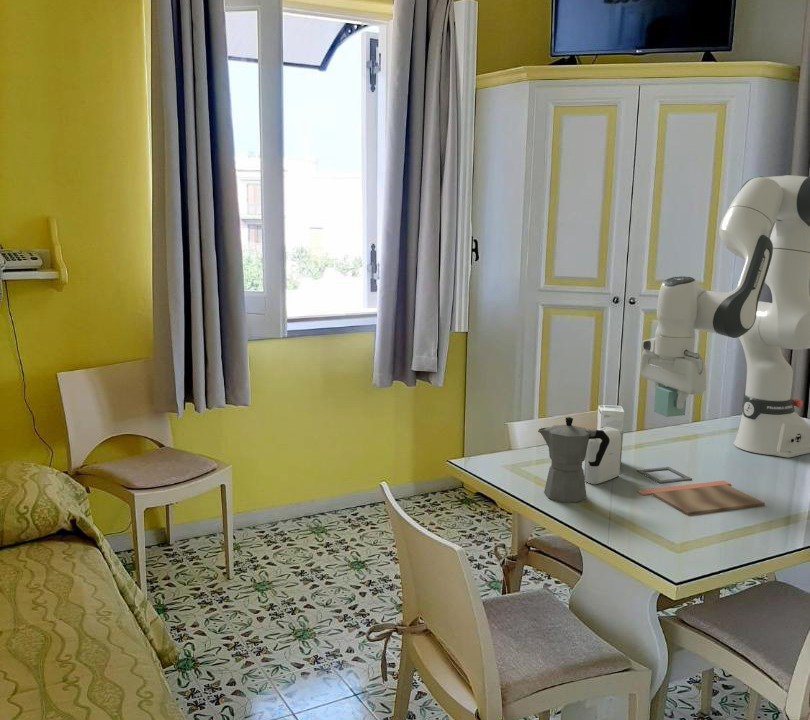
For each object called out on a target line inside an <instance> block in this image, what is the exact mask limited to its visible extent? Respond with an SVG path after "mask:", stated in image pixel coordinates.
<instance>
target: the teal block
mask: <svg viewBox="0 0 810 720" xmlns="http://www.w3.org/2000/svg"><path fill="white" fill-rule="evenodd" d="M678 396H679V394H677V389H674V388H671V387H668V386H666V385H665V386H664V387H656V389H655V394H654V406H653V412H655V413H657V414H659V415H661V416H664V417H667V418H669V417H678V416H679V417H681V416H686V407H687V399H686V400H685V401H684V408H682V409H678V408H676V407H674V400H677V398H678Z"/></svg>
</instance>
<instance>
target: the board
mask: <svg viewBox="0 0 810 720" xmlns="http://www.w3.org/2000/svg"><path fill="white" fill-rule="evenodd" d="M652 497H655V498H656V499H658V500H659V501H662V502H663V503H665V504H667V505H668V506H670V507H672V508H673V509H675V510H677V511H679V512H681V513H682V514H684V515H686V516H691V515H700V514H708V513H714V512H715V513H716V512H717V513H718V512H724V511H731V510H740V509H747V508H748V509H749V508H755V507H761V506H765V504H766V502H764V501H762V500H760V499H758V498H756V497H753V496H751V495H749V494H747V493H745V492H743V491H741V490H739V489H737V488H735V487H733V486H731V485H718V486H710V487H701V488H693V489H684V490H675V491H667V492H658V493H653V494H652Z"/></svg>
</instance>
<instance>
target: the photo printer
mask: <svg viewBox="0 0 810 720" xmlns="http://www.w3.org/2000/svg"><path fill="white" fill-rule="evenodd" d="M599 430H602V431H604V432H605V433H606V435H607V436H608V437H609V439H610V442H609V445H608V447H607V449H606V451H605V453H604V456H603V458H602V460H601V462H600V465H599V466H590V464H589V462H594V461H595V460H596V454H597V452H598V451H599V446H600V443H601V442H602V440H601V439H600V438H597V439H589V442H588V446H587V451H586V456H585V460H584V479H585V483H587V482H588V483H587V484H589V483H591V484H590V485H598V484H601V483H604V482H607V481H609V480H612V479H615V478H616V477H619V475H620V469H621V468H620V467H621V466H620V455H621V433H620V432H619V430H617V429H614V428H610V427H606V428H601V429H599ZM621 456H622V455H621Z"/></svg>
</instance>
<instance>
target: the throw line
mask: <svg viewBox="0 0 810 720" xmlns="http://www.w3.org/2000/svg"><path fill="white" fill-rule="evenodd" d="M718 485H729V486H731V485H732V483H730V482H729V481H726V480H718V481H708V482H707V481H706V482H698V483H692V484H691V483H690V484H681V485H673V486H663V487H654V488H645V489H638V490H636V492H637V493H638V494H640V495H642V496H648V494H650V495H653V493H658V492H667V491H675V490H684V489H693V488H701V487H710V486H718Z"/></svg>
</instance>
